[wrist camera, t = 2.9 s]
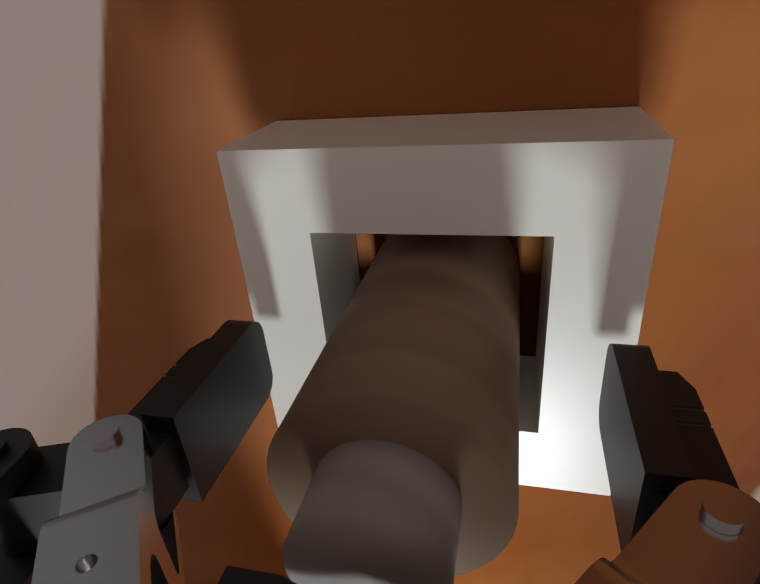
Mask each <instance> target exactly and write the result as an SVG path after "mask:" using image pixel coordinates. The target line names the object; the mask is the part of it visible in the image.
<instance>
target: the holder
mask: <svg viewBox="0 0 760 584" xmlns="http://www.w3.org/2000/svg"><path fill="white" fill-rule="evenodd" d="M673 145H674V138H673V137H671V136H670V135H669V134H668V133H667V132H666V131H665V130H664V129H663V128H662V127H661V126H660V125H659V124H658V123H657V122H655V121H654V120H653V119H652V118H651V117H650V116H649V115H648V114H647V113H646V112H645V111H644V110H643V109H642V108H641V107H639V106H636V107H611V108H586V109H561V110H536V111H510V112H485V113H460V114H435V115H410V116H385V117H359V118H334V119H309V120H284V121H275V122H273V123H271V124H269V125H267V126H265V127H263V128H261V129H259V130H257V131H255V132H253V133H251V134H249V135H247V136H245V137H243V138H241V139H239V140H237V141H235V142H233V143H231V144H229V145H227V146H225V147H223V148H221V149H219V150H217V151H216V152H217V157H218V161H219V165H220V170H221V174H222V179H223V183H224V188H225V192H226V197H227V201H228V206H229V210H230V215H231V219H232V224H233V228H234V232H235V237H236V241H237V246H238V250H239V255H240V259H241V264H242V268H243V273H244V277H245V282H246V286H247V290H248V295H249V299H250V304H251V308H252V313H253V317H254V322H259V323H260V324H261V326H262V328H263V332H264V336H265V341H266V346H267V350H268V355H269V359H270V364H271V368H272V374H273V382H272V388H271V392H270V393H271V398H272V402H273V407H274V411H275V416H276V420H277V424H278V428H279V426H280V424H281V423H282V421H283V419H284V417H285V415H286V414H287V412H288V410H289V408H290V407H291V405H292V403H293V401H294V400H295V398H296V396H297V394H298V392H299V391H300V389H301V387H302V385H303V384H304V382H305V380H306V378H307V377H308V375H309V373H310V371H311V369H312V368H313V366H314V364H315V362H316V361H317V359H318V357H319V355H320V354H321V352H322V350H323V348H324V346H325V345H326V343H327V341H328V339H329V338H330V336H331V334H332V332H333V331H334V329H335V327H336V325H337V323H338V322H339V320H340V318H341V316H342V315H343V313H344V311H345V309H346V308H347V306H348V304H349V302H350V300H351V299H352V297H353V295H354V293H355V292H356V290H357V288H358V286H359V285H360V274H359V265H358V256H357V247H356V237H355V234H421V235H487V236H544V246H543V260H542V273H541V287H540V301H539V315H538V328H537V342H536V356H522V355H520V371H519V485H527V486H535V487H543V488H551V489H560V490H568V491H576V492H584V493H592V494H600V495H608V496H610V492H611V491H610V486H609V480H608V474H607V469H606V463H605V457H604V452H603V446H602V440H601V435H600V428H599V402H600V394H601V388H602V381H603V374H604V368H605V361H606V354H607V349H608V346H609V344H628V345H637V343H638V338H639V332H640V327H641V321H642V316H643V310H644V305H645V299H646V294H647V288H648V283H649V277H650V272H651V266H652V261H653V255H654V250H655V244H656V238H657V233H658V227H659V222H660V216H661V211H662V205H663V200H664V194H665V189H666V183H667V178H668V172H669V167H670V161H671V156H672V150H673Z"/></svg>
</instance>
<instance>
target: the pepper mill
mask: <svg viewBox="0 0 760 584" xmlns="http://www.w3.org/2000/svg"><path fill="white" fill-rule="evenodd" d="M519 371H520V266H519V261H518V257H517V255H516V252H515V249H514V248H513V246H512V244H511V242H510V241H509V239H508V238H507V236H487V235H421V234H388V235H387V237H386V239H385V240H384V242H383V244H382V246H381V247H380V249H379V251H378V253H377V254H376V256H375V258H374V260H373V262H372V263H371V265H370V267H369V269H368V270H367V272H366V274H365V276H364V277H363V279H362V281H361V283H360V285H359V286H358V288H357V290H356V292H355V293H354V295H353V297H352V299H351V300H350V302H349V304H348V306H347V308H346V309H345V311H344V313H343V315H342V316H341V318H340V320H339V322H338V323H337V325H336V327H335V329H334V331H333V332H332V334H331V336H330V338H329V339H328V341H327V343H326V345H325V346H324V348H323V350H322V352H321V354H320V355H319V357H318V359H317V361H316V362H315V364H314V366H313V368H312V369H311V371H310V373H309V375H308V377H307V378H306V380H305V382H304V384H303V385H302V387H301V389H300V391H299V392H298V394H297V396H296V398H295V400H294V401H293V403H292V405H291V407H290V408H289V410H288V412H287V414H286V415H285V417H284V419H283V421H282V423H281V424H280V426H279V428H278V430H277V431H276V433H275V435H274V437H273V439H272V441H271V444H270V447H269V450H268V456H267V472H268V478H269V482H270V485H271V488H272V491H273V494H274V495H275V497H276V499H277V501H278V503H279V505H280V506H281V508H282V509H283V511H284V512H285V514H286V515H287V516H288V517H289V519H290V520H291V521H292V522H293V523H292V525H291V528H290V530H289V532H288V535H287V537H286V539H285V542H284V544H283V548H282V561H283V565H284V568H285V571H286V573H287V575H288V577H289V578H290V580H291V581H293V582H294V583H296V584H454V577H455V576H456V575H460V574H464V573H467V572H470V571H472V570H475V569H477V568H479V567H481V566H483V565H485V564H487V563H488V562H490V561H491V560H493V559H494V558H495V557H496V556H498V555H499V554H500V553H501V552H502V551H503V549H504V548H505V547H506V546H507V545H508V543H509V541H510V540H511V538H512V536H513V534H514V531H515V528H516V526H517V520H518V505H519Z"/></svg>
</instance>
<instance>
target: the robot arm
mask: <svg viewBox="0 0 760 584" xmlns="http://www.w3.org/2000/svg"><path fill="white" fill-rule="evenodd" d="M272 382H273V374H272V368H271V364H270V359H269V355H268V350H267V346H266V341H265V336H264V332H263V328H262V326H261V324H260V323H259V322H254V321H237V320H228V321H226V322H225V323H224V324H223V325H222V326H221V327H220V328H219V329H218V331H217V332H216V333H215V334H214V335H213V336H212V337H211V338H210V339H209V338H207V339H205V340H204V341H202V342H200V343H199V344H197V345H196V346H194V347H192V348H191V349H189V350H188V351H187V352H186V353H185V354H184V355H183V356H182V357H181V358H180V359H179V360H178V362H177V363H176V366H173V367H172V368H171V369H170V370H169V371H168V372H167V373H166V376H165V377H162V378H161V380H160V381H159V382H158V383H157V384H156V385H155V386H154V387H153V388H152V389H151V390H150V391H149V392H148V393H147V394H146V395H145V397H144V398H143V399H142V400H141V401H140V402H139V403H138V404H137V405H136V406H135V407H134V408H133V409H132V410H131V411H130V412H129V413H128V415H126V414H122V415H113V416H109V417H106V418H103V419H100V420H98V421H96V422H94V423H92V424H90V425H88V426H87V427H85V428H84V429H82V430H81V431H80V432H79V433H78V434H77V435H76V436H75V437H74V438H73V440H72V441H71V442H70V443H63V444H56V445H49V446H41V447H38V445H37V443H36V442H35V440H34V438H33V436H32V434H31V432H30V431H28V430H26V429H23V428H10V429H5V430H1V431H0V584H186V582H185V573H184V565H183V556H182V548H181V539H180V531H179V523H178V516H177V513H176V510H175V507H176V506H177V504H178V503H179V501H180V500H181V499H187V500H194V501H200V502H202V501H203V500H204V498H205V497H206V495H207V493H208V492H209V490H210V489H211V487H212V486H213V484H214V482H215V481H216V479H217V478H218V476H219V475H220V473H221V471H222V470H223V468H224V467H225V465H226V463H227V462H228V460H229V459H230V457H231V456H232V454H233V452H234V451H235V449H236V448H237V446H238V445H239V443H240V441H241V440H242V438H243V437H244V435H245V433H246V432H247V430H248V429H249V427H250V426H251V424H252V422H253V421H254V419H255V418H256V416H257V415H258V413H259V411H260V410H261V408H262V407H263V405H264V403H265V402H266V400H267V399H268V397H269V395H270V392H271V388H272ZM599 428H600V435H601V440H602V446H603V452H604V457H605V463H606V469H607V474H608V480H609V486H610V491H611V497H612V503H613V508H614V514H615V520H616V525H617V531H618V537H619V542H620V548H621V552H620V554H619V555H618V556H617V557H616V558H615V559H614V560H613V561H611V562H610V561H608V560H607V559H605V558H600V559H598V560H597V561H595V562H594V563H593V564H592V565H591V566H590V567H589V568H588V569H587V570H586V571H585V572H584V574H583V575H582V576H581V577H580V578H579V579H578V580H577V581H576V583H575V584H760V503H759V502H758V501H757V500H756V499H754V498H753V497H751V496H750V495H748V494H747V493H745V492H743V491H742V490H740V489H739V487H738V485H737V483H736V480H735V478H734V476H733V473H732V471H731V469H730V467H729V464H728V462H727V460H726V457H725V455H724V453H723V451H722V448H721V446H720V444H719V442H718V439H717V437H716V435H715V432H714V430H713V428H711V423H710V421H709V419H708V416H707V414H706V412H704V407H703V405H702V403H701V400H700V398H699V396H698V394H697V391H696V389H695V388H694V387H693V386H692V385H691V384H689V383H688V382H687V381H686V380H685V379H684V378H683V377H682V376H681V375H680V374H679V373H678V372H672V371H658V369H657V366H656V363H655V360H654V357H653V355H652V352H651V349H650V347H649V346H645V345H628V344H609V346H608V349H607V354H606V361H605V368H604V374H603V381H602V388H601V394H600V402H599ZM218 584H296V583H294V582H293V581H291V580H289V579H287V578H285V577H283V576H281V575H276V574H270V573H265V572H260V571H254V570H249V569H243V568H238V567H232V566H227V567H226V569H225V571H224V573H223V575H222V577H221V579H220V581H219V583H218Z"/></svg>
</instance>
